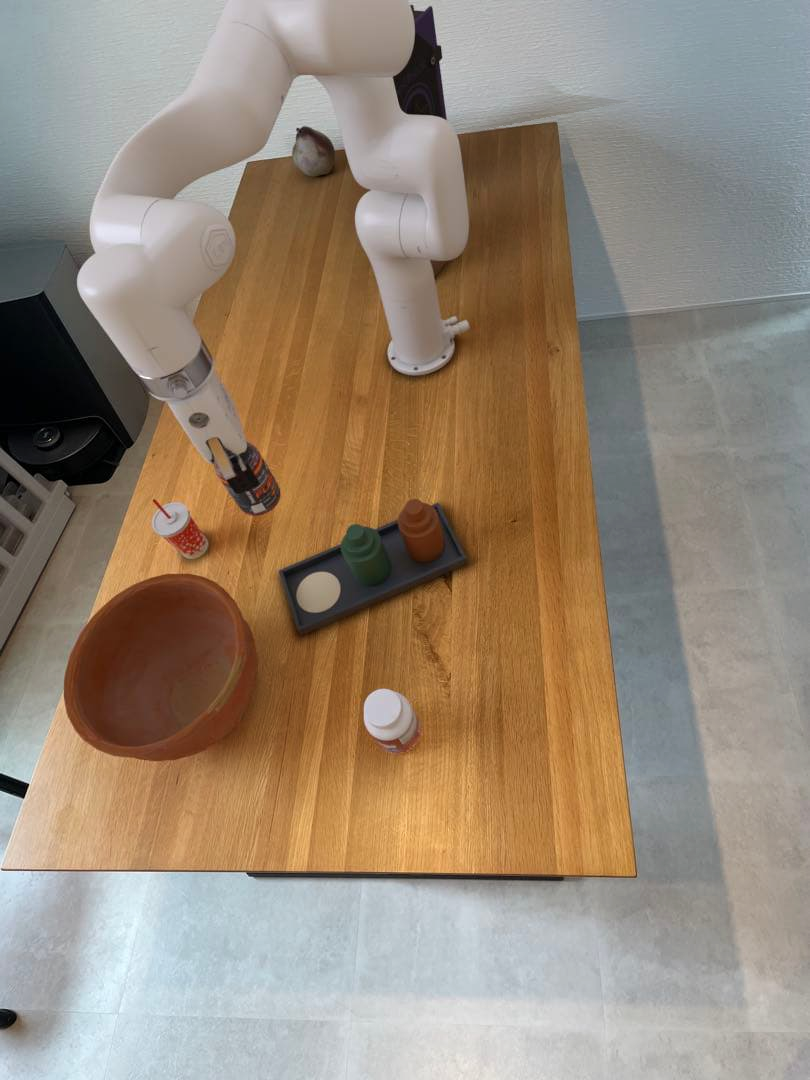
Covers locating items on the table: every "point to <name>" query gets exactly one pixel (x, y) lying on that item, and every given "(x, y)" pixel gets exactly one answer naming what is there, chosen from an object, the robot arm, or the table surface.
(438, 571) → the tray
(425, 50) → the book
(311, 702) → the table surface
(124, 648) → the bowl
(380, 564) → the green bottle
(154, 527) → the beverage cup
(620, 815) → the table surface
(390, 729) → the pill bottle
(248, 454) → the supplement bottle
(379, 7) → the robot arm
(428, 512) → the amber bottle
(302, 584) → the target spot
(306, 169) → the fruit
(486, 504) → the table surface
